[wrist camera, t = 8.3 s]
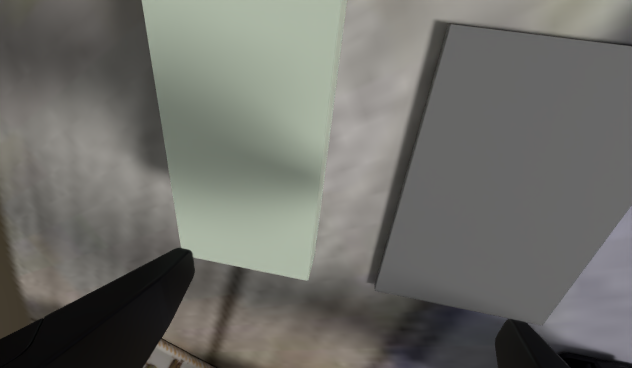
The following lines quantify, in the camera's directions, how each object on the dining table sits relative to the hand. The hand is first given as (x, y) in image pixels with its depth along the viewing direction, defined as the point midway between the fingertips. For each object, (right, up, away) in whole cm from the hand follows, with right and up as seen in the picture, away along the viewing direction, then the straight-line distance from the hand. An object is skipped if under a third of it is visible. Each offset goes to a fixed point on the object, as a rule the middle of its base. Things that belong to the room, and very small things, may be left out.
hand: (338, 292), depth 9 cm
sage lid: (-3, +6, +6) cm, 9 cm away
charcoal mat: (+11, +2, +10) cm, 15 cm away
